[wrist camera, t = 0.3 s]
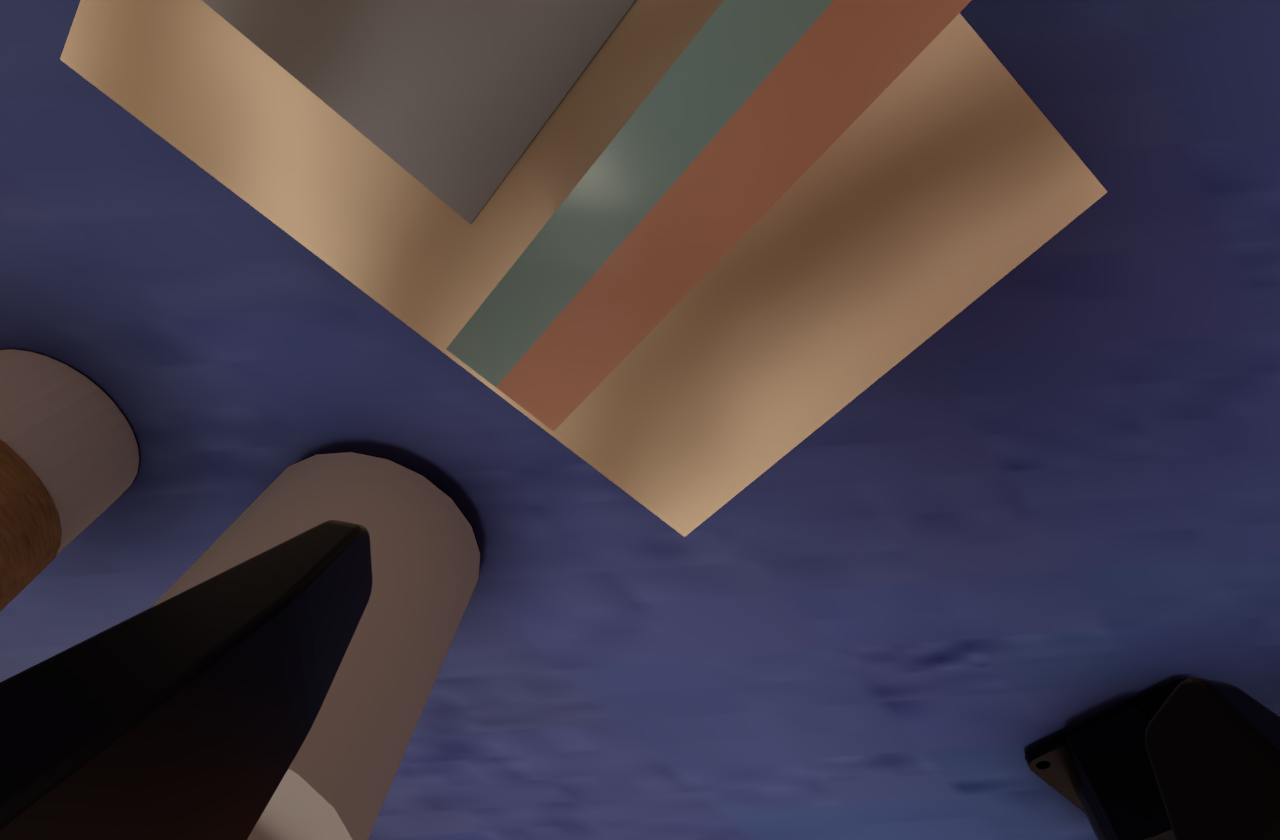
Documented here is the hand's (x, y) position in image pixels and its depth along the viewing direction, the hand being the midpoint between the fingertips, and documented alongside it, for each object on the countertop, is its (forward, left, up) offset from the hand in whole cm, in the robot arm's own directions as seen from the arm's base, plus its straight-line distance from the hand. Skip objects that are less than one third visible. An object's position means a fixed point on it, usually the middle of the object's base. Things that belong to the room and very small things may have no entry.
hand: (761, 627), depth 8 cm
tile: (+4, -2, -11) cm, 12 cm away
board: (+6, 0, -13) cm, 14 cm away
